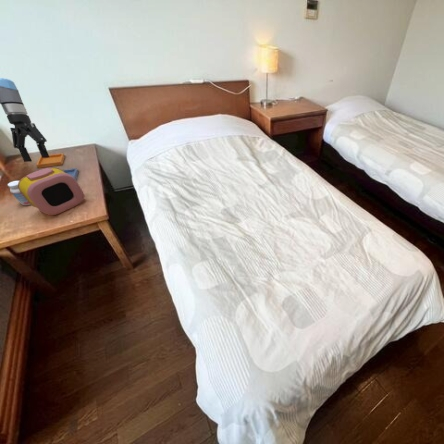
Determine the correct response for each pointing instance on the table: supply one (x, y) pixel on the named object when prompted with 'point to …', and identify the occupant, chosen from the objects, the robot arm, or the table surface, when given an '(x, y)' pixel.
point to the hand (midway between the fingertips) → (37, 159)
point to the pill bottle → (17, 193)
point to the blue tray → (72, 172)
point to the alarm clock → (51, 190)
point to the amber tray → (51, 161)
